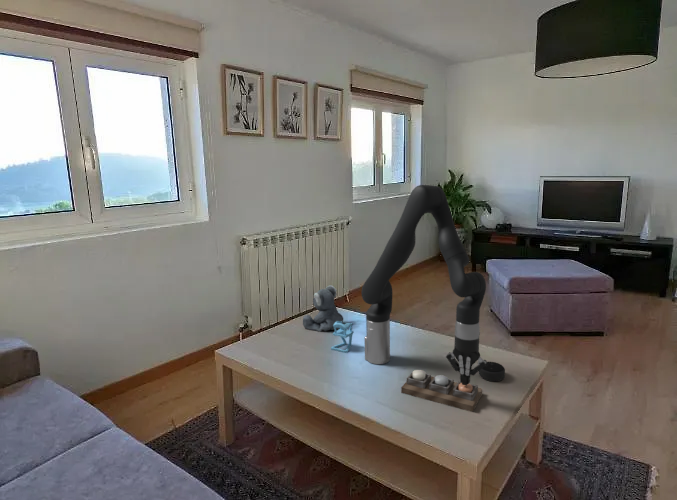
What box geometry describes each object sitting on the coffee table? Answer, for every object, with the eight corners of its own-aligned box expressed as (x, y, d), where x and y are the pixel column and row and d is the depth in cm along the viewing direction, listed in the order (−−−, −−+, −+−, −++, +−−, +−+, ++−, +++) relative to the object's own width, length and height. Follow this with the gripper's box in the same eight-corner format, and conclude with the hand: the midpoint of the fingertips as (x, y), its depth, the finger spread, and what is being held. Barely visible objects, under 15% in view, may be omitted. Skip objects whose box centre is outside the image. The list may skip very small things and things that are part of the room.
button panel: (401, 392, 146) (401, 381, 145) (414, 377, 156) (414, 366, 155) (472, 411, 134) (473, 399, 133) (482, 394, 144) (482, 382, 143)
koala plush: (322, 317, 220) (320, 280, 216) (351, 324, 209) (350, 285, 205) (300, 328, 206) (298, 289, 202) (330, 336, 196) (328, 295, 192)
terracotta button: (456, 393, 140) (456, 387, 139) (460, 387, 143) (460, 381, 143) (470, 396, 137) (470, 390, 137) (473, 390, 141) (474, 384, 141)
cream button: (410, 379, 148) (410, 374, 147) (415, 374, 151) (415, 368, 151) (422, 382, 145) (422, 377, 145) (427, 377, 149) (427, 371, 149)
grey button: (433, 385, 144) (433, 379, 143) (437, 379, 147) (437, 374, 147) (445, 388, 141) (446, 382, 141) (450, 382, 145) (450, 377, 145)
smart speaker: (505, 373, 158) (505, 363, 157) (503, 384, 150) (504, 374, 149) (480, 369, 161) (480, 359, 160) (477, 379, 153) (477, 369, 153)
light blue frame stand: (356, 346, 184) (355, 319, 182) (346, 353, 178) (345, 325, 175) (341, 342, 189) (340, 316, 186) (330, 349, 182) (329, 322, 179)
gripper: (442, 334, 137) (441, 384, 140) (485, 342, 130) (483, 394, 133) (450, 326, 143) (448, 374, 146) (491, 334, 136) (488, 384, 139)
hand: (465, 384), depth 140 cm, fingers closed
